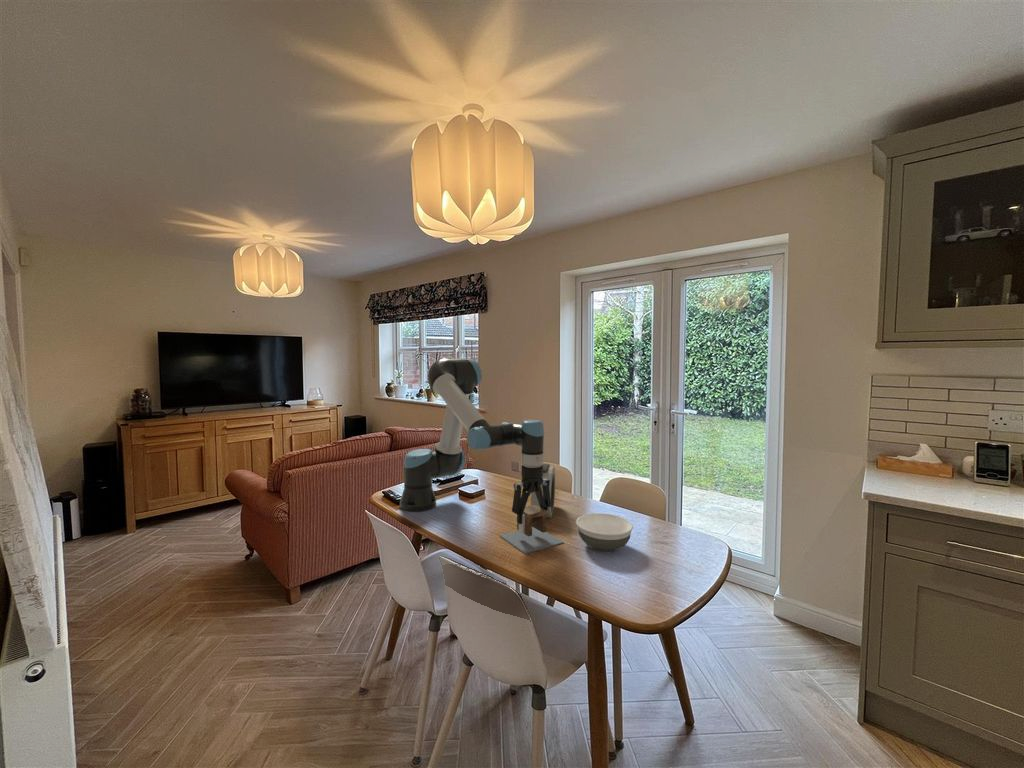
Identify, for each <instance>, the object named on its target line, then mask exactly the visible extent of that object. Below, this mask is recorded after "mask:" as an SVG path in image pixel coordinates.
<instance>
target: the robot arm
mask: <svg viewBox="0 0 1024 768" xmlns="http://www.w3.org/2000/svg"><path fill="white" fill-rule="evenodd" d="M427 381H428V384H429V386H430V388H431V390H432V391H433V392H434V393H435V394H437V395H439V397H441V398H442V399H443V401H444V402H445V403H446V405H445V411H444V417H443V420H442V421H443V422H442V427H441V433H440V438H439V442H438V441H437V443H435V448H434V450H432V449H430V448H419V449H413V450H410V451H409V452H407V453H406V454H405V456H404V458H403V486H404V487H403V491H402V494H401V496H400V500H399V507H400V509H401V510H404V511H407V512H423V511H428V510H431V509H433V508H435V507H436V506H437V498H436V494H435V492H434V489H433V479H439V478H444V477H447V476H448V477H451V476H454V475H457V474H459V473H461V472H462V471H463V469H464V466H465V463H466V458H465V453H464V451H463V449H462V446H461V445H460V443H461V439H462V437H461V436H462V433H463V432H462V431H463V427H464V429H465V430H466V432H467V435H466V440H467V442H468V443H467V444H468V446H469V447H470V449H473V450H477V451H478V450H487V449H490V448H497V447H503V446H504V447H505V446H510V445H516V446H519V447H520V446H521V459H520V460H521V467H520V468H521V471H520V472H521V473H520V474H521V481H520V482H519V483H516V482H515V483H514V484H513V488H514V489H513V490H514V493H513V500H512V505H511V506H512V507H511V513H514V515H516V523H519V530H518V531H519V532H521V533H522V534H525V514H523V512H524V509H525V507H527V503H528V500H529V497H531V493H532V492H535V493H536V496H537V499H538V502H539V505H540V507H541V508H542V509H544V510H548V507H550V506H551V501H550V491H549V483H550V480H548V479H545V478H544V479H543V478H542V476H543V466H542V465H543V464H544V440H545V439H544V438H545V437H544V435H545V432H544V431H545V430H544V423H543V421H541V420H538V419H526V420H523V421H522V422H521V423H516V422H512V421H503V422H501V423H500V424H493V425H491V424H490V423H489V422H488V421H487V420H486V418H485V417H484V416H483V414H481V412H480V411H479V410H478V408H477V407H476V406H475V405H474V404H473V403H472V401H471V400H470V399H469V396H470V395H472V394H473V393H474V388H475V387H478V386H479V385H480V384H481V382H482V369H481V366H480V364H479V363H478V362H477V361H476V360H475V359H471V358H440V359H438V360H435V361H434V362H433V363H432V364H431V365H430V367H429V368H428V373H427ZM541 485H542V488H543V495H542V490H541V487H540V486H541ZM543 497H544V498H543Z"/></svg>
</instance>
